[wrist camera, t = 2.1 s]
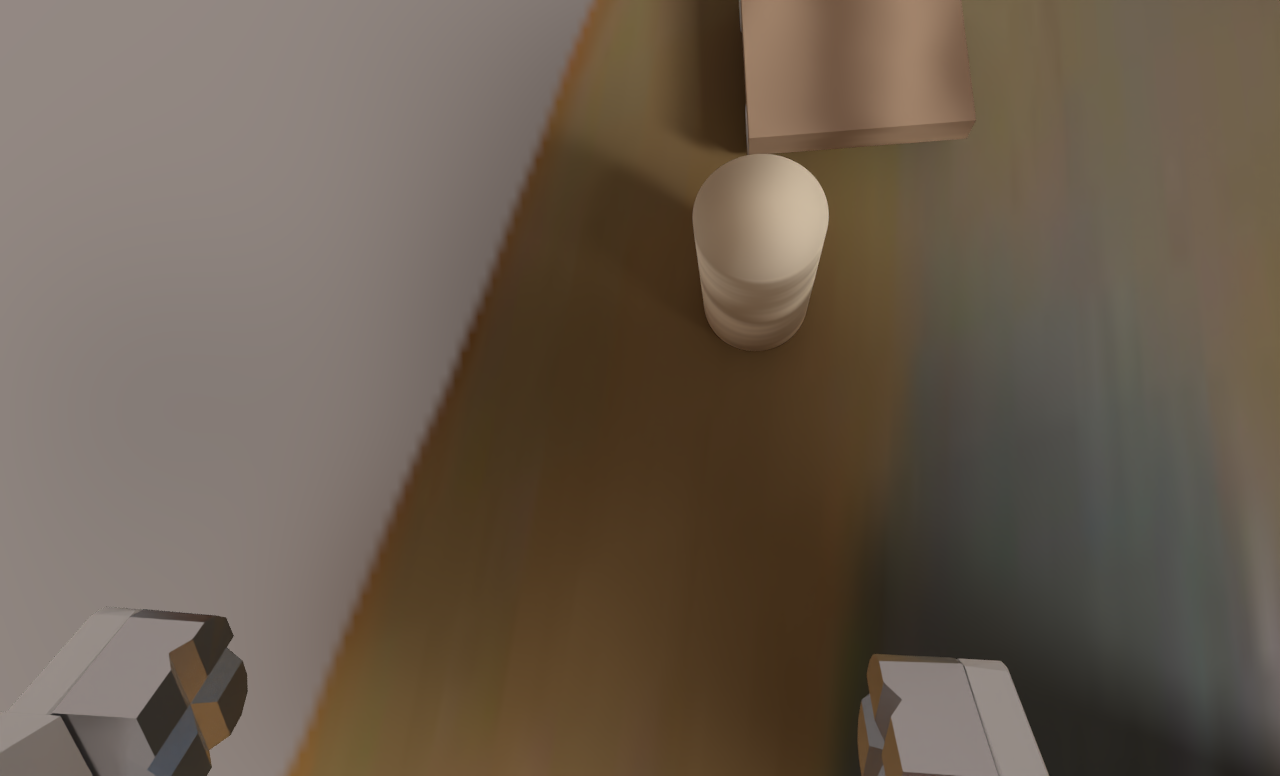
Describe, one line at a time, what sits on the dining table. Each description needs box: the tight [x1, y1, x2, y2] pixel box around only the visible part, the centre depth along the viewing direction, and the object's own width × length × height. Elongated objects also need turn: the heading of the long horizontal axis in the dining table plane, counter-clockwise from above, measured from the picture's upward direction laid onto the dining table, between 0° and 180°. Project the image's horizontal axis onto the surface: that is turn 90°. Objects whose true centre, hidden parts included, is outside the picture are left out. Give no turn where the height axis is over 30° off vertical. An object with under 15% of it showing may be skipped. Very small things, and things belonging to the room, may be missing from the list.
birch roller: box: [692, 154, 829, 351], centre depth 36 cm, size 5×5×10 cm
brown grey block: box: [739, 0, 976, 155], centre depth 40 cm, size 10×11×6 cm
